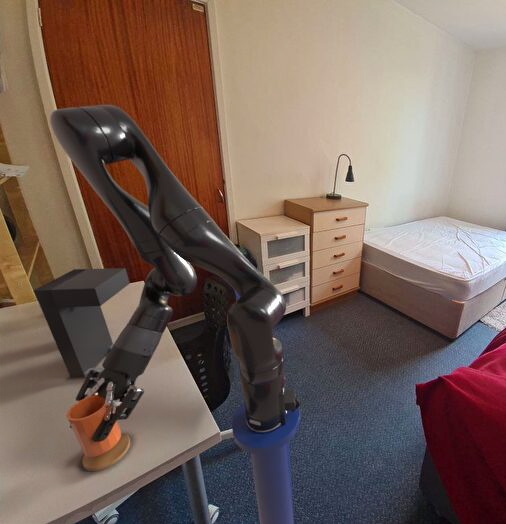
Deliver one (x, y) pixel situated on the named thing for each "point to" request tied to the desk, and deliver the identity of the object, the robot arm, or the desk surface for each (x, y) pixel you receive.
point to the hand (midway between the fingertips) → (86, 434)
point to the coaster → (107, 455)
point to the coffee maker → (81, 315)
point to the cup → (91, 425)
